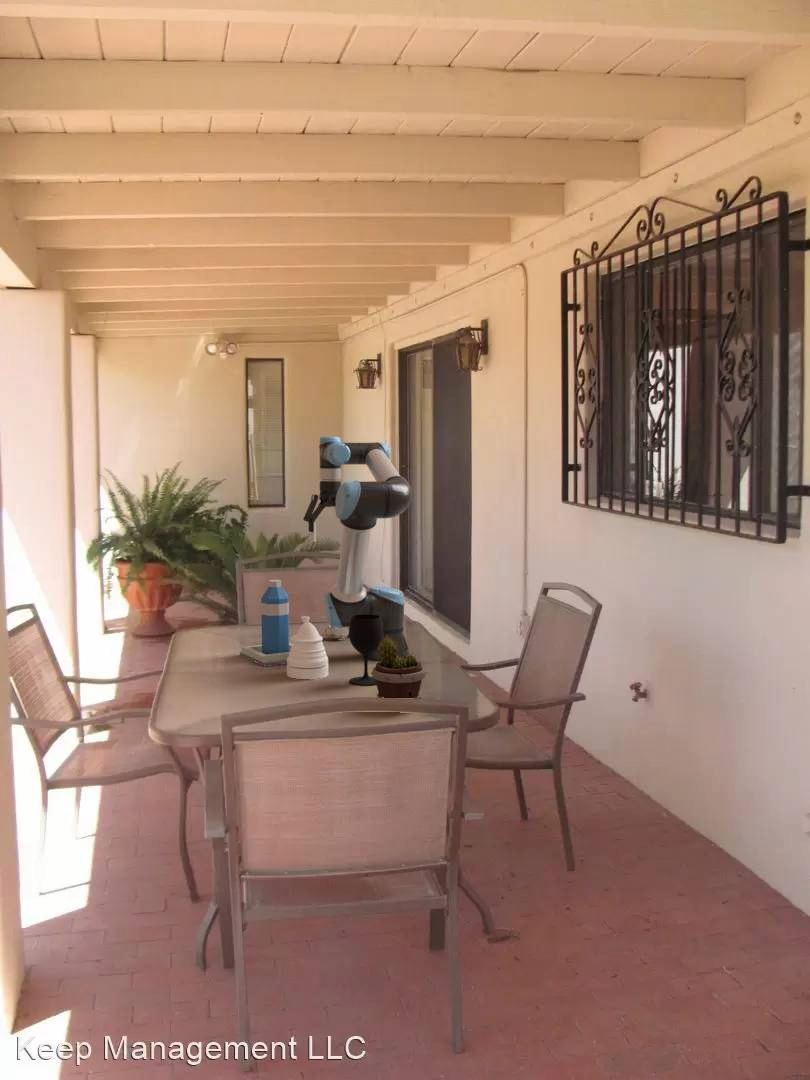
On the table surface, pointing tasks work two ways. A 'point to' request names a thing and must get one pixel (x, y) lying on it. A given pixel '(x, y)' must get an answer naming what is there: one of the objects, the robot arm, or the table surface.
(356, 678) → the wine glass
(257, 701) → the table surface
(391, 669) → the flowerpot
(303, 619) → the honey pot
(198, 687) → the table surface
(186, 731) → the table surface
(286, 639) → the water bottle
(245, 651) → the pale green tray
